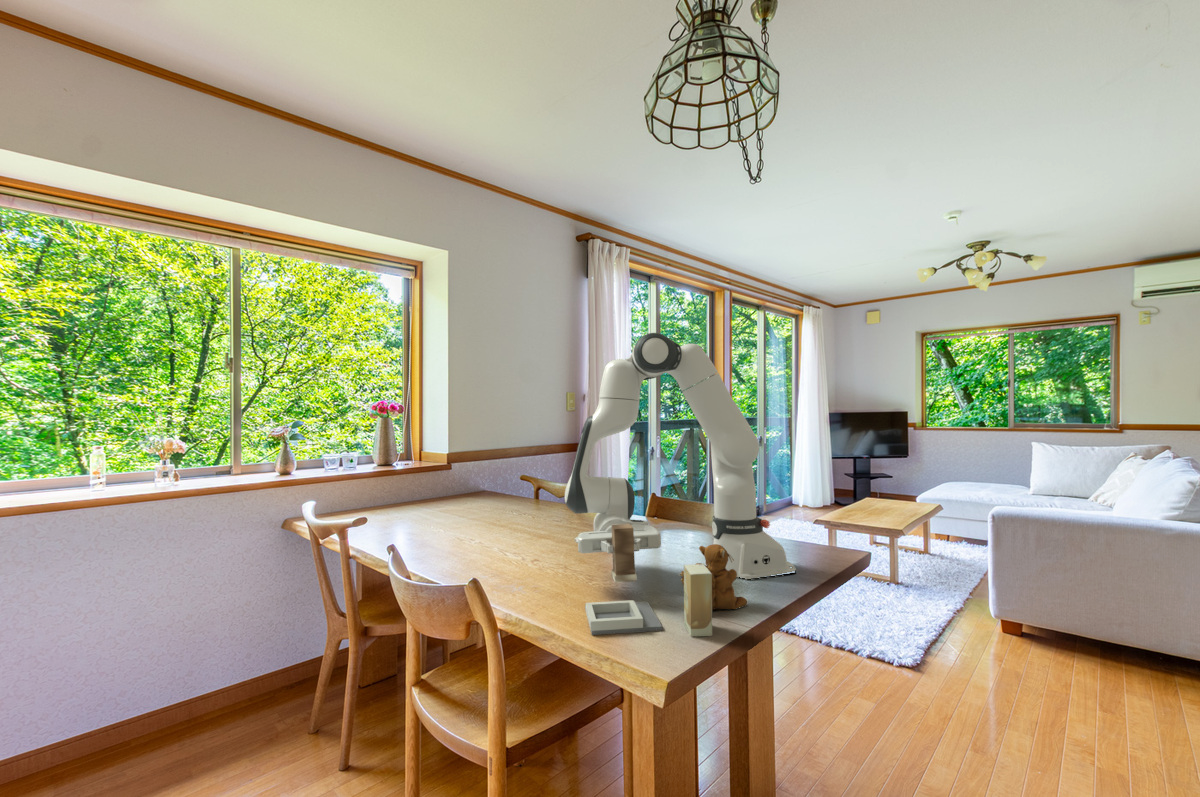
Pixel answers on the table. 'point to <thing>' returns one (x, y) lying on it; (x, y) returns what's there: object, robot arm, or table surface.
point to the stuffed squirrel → (720, 578)
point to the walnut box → (623, 553)
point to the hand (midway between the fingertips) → (623, 548)
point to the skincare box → (698, 600)
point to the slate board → (621, 617)
